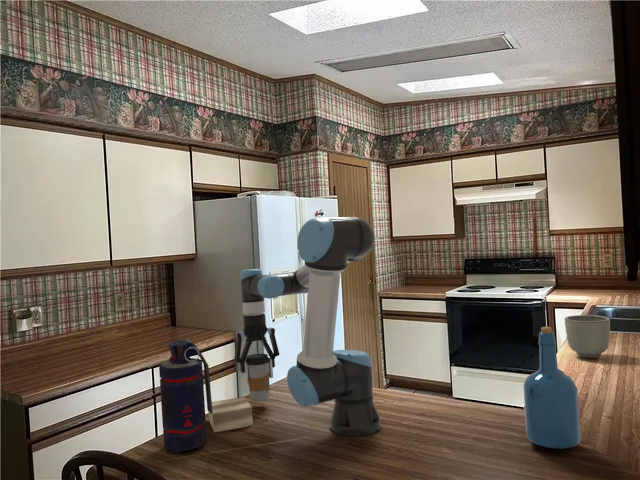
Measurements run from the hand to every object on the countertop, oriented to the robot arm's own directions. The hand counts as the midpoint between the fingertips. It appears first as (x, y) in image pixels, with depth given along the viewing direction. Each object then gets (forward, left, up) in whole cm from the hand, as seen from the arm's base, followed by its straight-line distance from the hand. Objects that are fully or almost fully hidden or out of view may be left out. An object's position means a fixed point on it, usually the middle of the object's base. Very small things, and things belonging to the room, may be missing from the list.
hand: (258, 379), depth 177 cm
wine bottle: (-61, -69, -10) cm, 93 cm away
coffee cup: (0, 0, -7) cm, 7 cm away
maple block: (-11, +11, -10) cm, 18 cm away
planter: (+6, -143, -10) cm, 143 cm away
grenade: (-25, +24, -10) cm, 36 cm away
